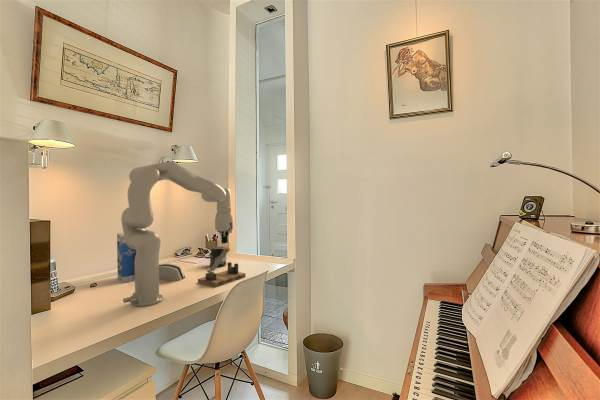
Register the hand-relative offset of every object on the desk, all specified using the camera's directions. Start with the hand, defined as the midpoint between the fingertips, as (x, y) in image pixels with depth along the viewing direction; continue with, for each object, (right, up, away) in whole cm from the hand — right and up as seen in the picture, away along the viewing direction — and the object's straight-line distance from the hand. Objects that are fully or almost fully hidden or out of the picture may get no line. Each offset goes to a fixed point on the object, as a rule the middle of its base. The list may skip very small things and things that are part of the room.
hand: (224, 243), depth 165 cm
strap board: (-1, -20, -1) cm, 20 cm away
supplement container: (-12, -20, +31) cm, 39 cm away
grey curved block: (-32, -21, +1) cm, 38 cm away
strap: (-2, -9, -3) cm, 10 cm away
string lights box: (-55, -21, 0) cm, 59 cm away
